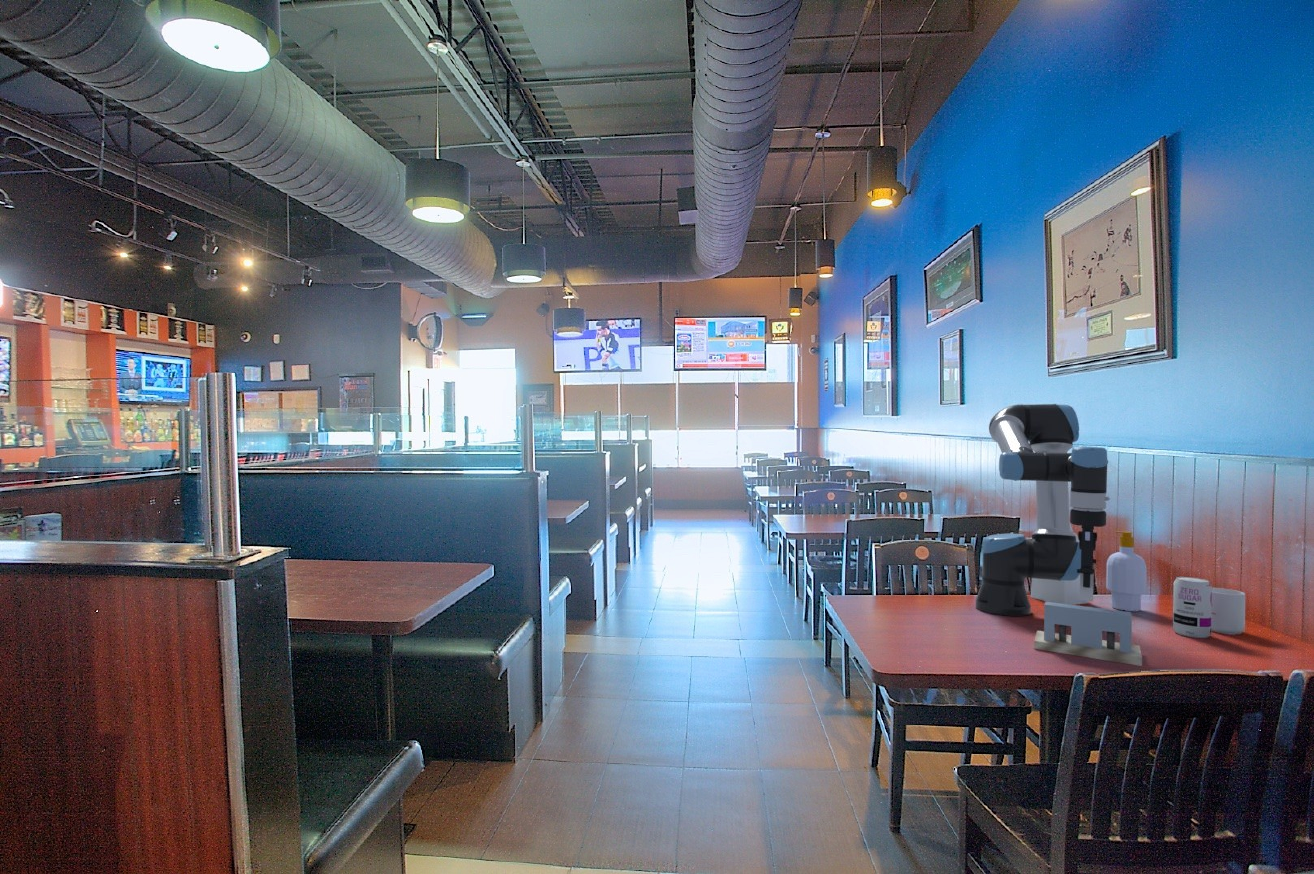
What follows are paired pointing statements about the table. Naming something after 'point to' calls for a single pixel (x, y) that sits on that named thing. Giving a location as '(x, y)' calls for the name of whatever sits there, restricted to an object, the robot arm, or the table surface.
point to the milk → (1057, 589)
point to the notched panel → (1088, 624)
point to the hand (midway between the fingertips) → (1086, 594)
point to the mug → (1227, 611)
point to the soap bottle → (1126, 576)
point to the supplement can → (1192, 607)
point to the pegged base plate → (1089, 648)
